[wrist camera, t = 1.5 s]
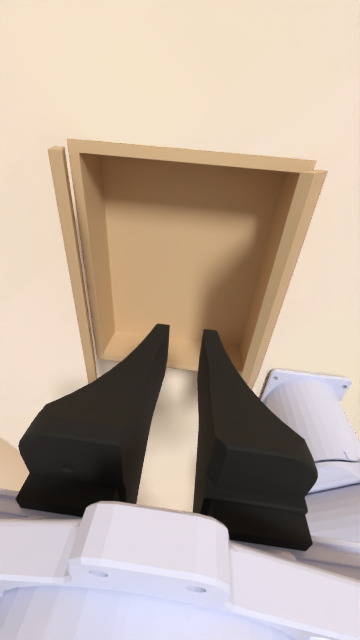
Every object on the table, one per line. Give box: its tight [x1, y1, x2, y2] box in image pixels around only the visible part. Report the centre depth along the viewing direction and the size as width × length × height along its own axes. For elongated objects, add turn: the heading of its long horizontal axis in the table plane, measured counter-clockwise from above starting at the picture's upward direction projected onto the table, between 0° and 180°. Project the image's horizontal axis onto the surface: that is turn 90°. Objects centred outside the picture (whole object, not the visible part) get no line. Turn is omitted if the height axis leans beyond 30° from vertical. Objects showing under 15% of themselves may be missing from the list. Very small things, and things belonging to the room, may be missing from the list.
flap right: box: [241, 170, 327, 390], centre depth 16 cm, size 15×6×1 cm
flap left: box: [48, 146, 97, 384], centre depth 16 cm, size 15×6×1 cm
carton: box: [67, 139, 316, 376], centre depth 20 cm, size 16×13×4 cm
